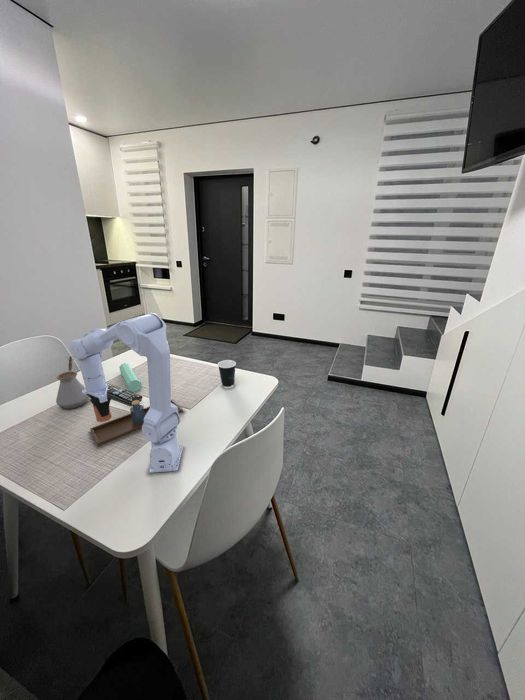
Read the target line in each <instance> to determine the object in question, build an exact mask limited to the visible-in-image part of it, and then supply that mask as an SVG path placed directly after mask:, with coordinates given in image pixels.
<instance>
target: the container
mask: <svg viewBox="0 0 525 700" xmlns="http://www.w3.org/2000/svg"><path fill="white" fill-rule="evenodd" d="M118 368H119V372H120V374H121V376H122V377H123V381H124V382H125V384H126V387H127V390H128V391H129V392H131V393H134V392H136V391H140V390H141V389H142V387H143V386H142V385H143V384H142V381H140V380H139V379H138V377H137V375H136V373H135V372H134V370H133V368H132V366H131V365H130V364H129V363H127V362H123V363H121V364H120V365H119V367H118Z"/></svg>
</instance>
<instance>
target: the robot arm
mask: <svg viewBox="0 0 525 700" xmlns="http://www.w3.org/2000/svg"><path fill="white" fill-rule="evenodd" d="M117 339H118V340H119V342H122V343H124V345H126V346H127V347H128V348H129V349H131V350H132V351H133V352H135V353H136V354H137V355H139V356H140V357H146V365H147V379H148V381H147V382H148V395H149V396H148V397H149V400H148V401H149V406H150V409H149V410H148V412H147V414H146V415H145V417H144V424H143V425H142V429H141V433H142V436H143V437H144V439H146V441H148V442H149V443H151V449H150V452H149V459H150V467H149V471H148V472H149V474H151V473H164V472H165V473H166V472H176V471H178V470H179V467H180V462H181V458H182V457H181V456H182V453H183V446H179V442H178V434H177V431H178V429H179V428H178V425H180V423H181V416H180V413H178V407H177V406H176V405H174V404H172V403H171V399H172V394H171V393H172V391H171V390H172V388H171V387H172V386H171V383H172V382H171V350H170V346H169V343H168V339H167V323H165V321H164V320H163V319H162V317H160V316H159V315H158V314H157V313H154V312H149V313H147V314H144V315H139V316H135V317H132V318H128V319H125V320H122V321H119V322H117V323H115V324H113V325H112V326H110V327H108V328H99V327H96V328H92V329H91V330H90V333H86V334H83V335H82V337H81V338H79V339H72V340H71V342H70V343H69V350H70V353H71V354H72V355H73V356H72V357H73V358H74V359H76V360H77V361H78V365H79V369H80V372H81V375H82V380H83V384H84V387H85V388H86V389H85V390H82V393H83V394H87V395H88V396H89V401H90V402H91V404H92V406H93V405H95V406H96V408H97V409H98V412H99V414H100V415H101V417H104V416H107V415H109V407H110V404H111V401H112V398H113V397H112V394H111V393H109V394H107V393H108V389H109V385H108V383H107V379H106V375H105V371H104V367H103V363H102V358H103V354H102V353H103V351H105V350H107V349H109V348H111V347H113V344H114V341H115V340H117ZM94 397H96V398H94Z"/></svg>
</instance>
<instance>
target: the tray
mask: <svg viewBox="0 0 525 700" xmlns="http://www.w3.org/2000/svg"><path fill="white" fill-rule="evenodd" d="M171 403H172V404H174V405H176V406H177V407H178V413H179V414H182V413H183V412H184V410H183V408H182V407H181V406H180V405H179V404H178V402H176V401H175V400H174V399H173V398H171ZM149 409H150V405H149V406H147V407H144V413H145V415H146V414H147V412H148V410H149ZM143 424H144V423H142V424H139V425H135V424H133V422H132V417H131V412H130V413H128V414H125V415H122V416H119V417H116V418H114V419H112V420H111V419H110V420H108V421H105V422H102V423H100V424H98V425H95V426H92V427H90V428H89V430H90V432H91V434H92V437H93V439H94V440H95V441H94V442H95V443H96V445H97V447H101V446H103V445H107V444H108V443H111V442H113V441H116V440H119V439H121V438H123V437H126V436H128V435H130V434H133V433H135V432H138V431H140V430H142V425H143Z"/></svg>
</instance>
